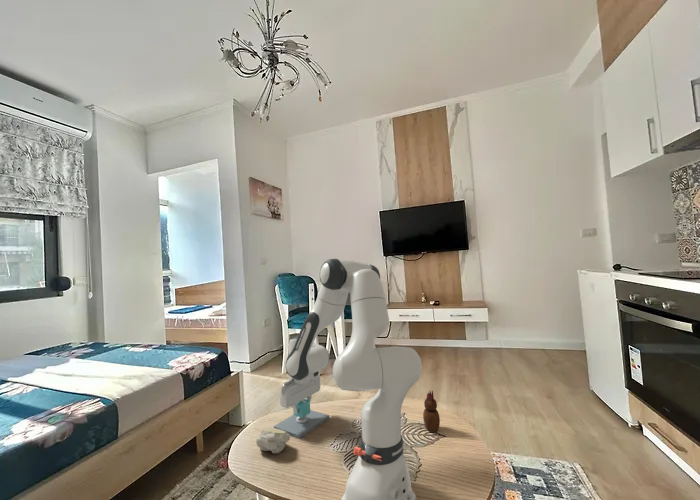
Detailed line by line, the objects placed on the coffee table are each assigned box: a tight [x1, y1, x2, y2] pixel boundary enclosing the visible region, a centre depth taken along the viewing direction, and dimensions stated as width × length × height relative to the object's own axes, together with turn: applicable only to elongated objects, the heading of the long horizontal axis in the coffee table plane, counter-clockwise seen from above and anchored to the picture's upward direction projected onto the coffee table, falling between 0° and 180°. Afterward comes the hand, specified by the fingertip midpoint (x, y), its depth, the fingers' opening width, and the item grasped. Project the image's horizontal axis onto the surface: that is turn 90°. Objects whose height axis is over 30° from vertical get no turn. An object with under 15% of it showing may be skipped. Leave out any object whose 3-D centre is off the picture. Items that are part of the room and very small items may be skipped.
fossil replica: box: [255, 427, 291, 455], centre depth 112 cm, size 12×8×10 cm
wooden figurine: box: [422, 390, 441, 433], centre depth 121 cm, size 7×6×15 cm
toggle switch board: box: [273, 409, 330, 440], centre depth 130 cm, size 18×14×6 cm
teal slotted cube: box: [292, 398, 311, 418], centre depth 131 cm, size 5×5×5 cm
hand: (302, 409), depth 130 cm, fingers closed on teal slotted cube, 5 cm apart
